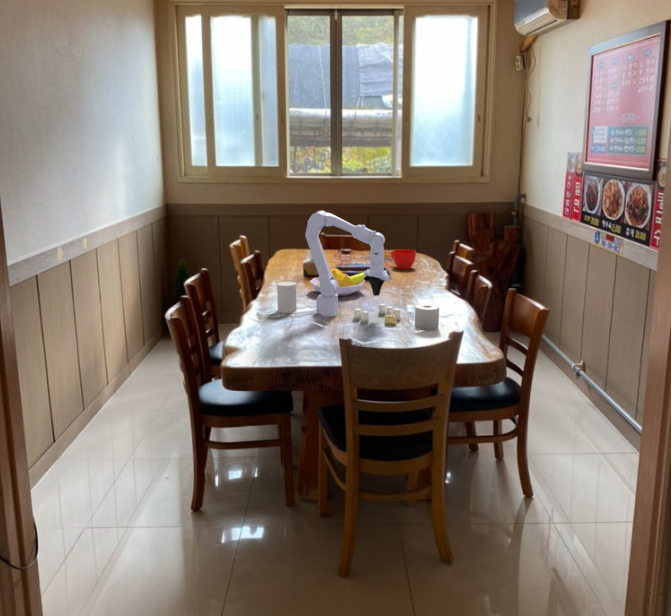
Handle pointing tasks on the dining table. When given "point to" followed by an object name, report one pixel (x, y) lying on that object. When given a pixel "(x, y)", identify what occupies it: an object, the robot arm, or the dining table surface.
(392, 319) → the brass nut
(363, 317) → the spacers
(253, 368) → the dining table surface
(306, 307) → the dining table surface
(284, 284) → the cup
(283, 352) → the dining table surface
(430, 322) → the toilet tissue
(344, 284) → the fruit bowl
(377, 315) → the field board
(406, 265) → the ceramic cup
